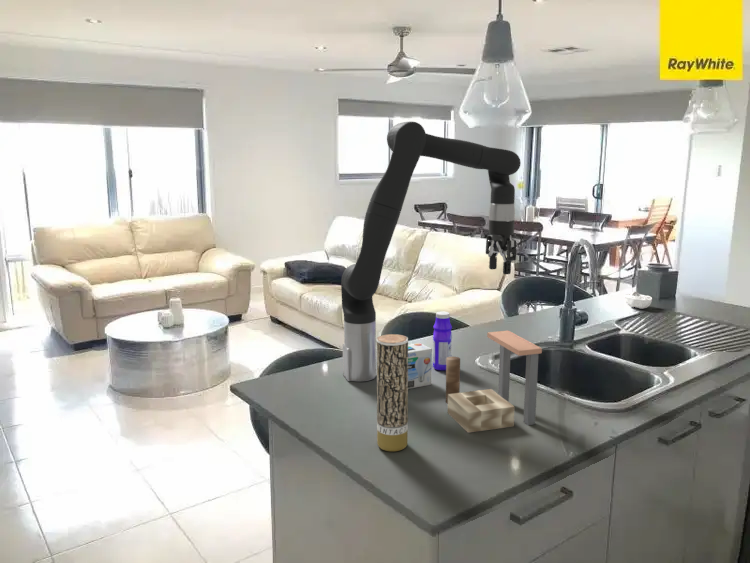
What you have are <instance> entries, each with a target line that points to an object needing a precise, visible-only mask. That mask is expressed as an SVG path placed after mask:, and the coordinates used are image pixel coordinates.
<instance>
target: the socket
mask: <svg viewBox="0 0 750 563" xmlns="http://www.w3.org/2000/svg"><path fill="white" fill-rule="evenodd" d="M447 415H449V416H450V417H451V418H452V419H453V420H454V421H455V422H456V423H457V424H459V426H460V427H461V428H463V430H465V431H466V432H467V433H475V432H482V431H489V430H496V429H497V430H498V429H504V428H511V427H514V426H515V406H514V405H513V404H512V403H511V402H508V401H506V400H505V399H504V398H502V397H501V396H500V395H498V393H497V392H496V391H495V390H493V388H490V389H489V388H488V389H479V390H472V391H471V390H470V391H464V392H460V393H454V394H448V404H447Z"/></svg>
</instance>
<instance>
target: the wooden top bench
mask: <svg viewBox="0 0 750 563" xmlns="http://www.w3.org/2000/svg"><path fill="white" fill-rule="evenodd" d="M486 337H487V338H488V339H490V340H492V341H493V342H495V343H496V344H498V345H499V368H498V393H497V394H498V395H500V396H501V397H502V398H504V399H505V400H506V401H508V402H509V401H510V382H511V381H510V378H511V376H510V375H511V353H513V354H515V355H517V356H518V357H520V356H525V357H526V358H525V359H526V360H525V376H524V377H525V379H524V401H523V420H522V421H523V423H524V424H525V425H527V426H531V425H535V424H536V413H537V409H536V408H537V394H538V391H537V390H538V374H539V373H538V372H539V371H538V370H539V354H542V352H543V349H542V347H541V346H538V345H536V344H534V343H533V342H530V341H529V340H527V339H525V338H524V337H521V336H519V335H517V334H516V333H514V332H512V331H510V330H501V331H490V332H489V331H488V332H487V336H486ZM509 403H510V402H509Z"/></svg>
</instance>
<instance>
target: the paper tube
mask: <svg viewBox="0 0 750 563" xmlns="http://www.w3.org/2000/svg"><path fill="white" fill-rule="evenodd" d="M408 345H409V337H408V336H406V335H403V334H397V333H393V334H392V333H391V334H383V335H379V336H376V430H377V432H376V433H377V434H376V436H377V437H376V438H377V441H376V444H377V446H378V448H379V449H381V450H383V451H386V452H391V453H392V452H399V451H402V450H404V449H405V448H406V447H407V446H408V437H409V436H408V430H409V429H408V428H409V426H408V424H409V423H408V422H409V420H408V419H409V416H408V415H409V414H408V413H409V412H408V410H409V407H408V406H409V389H408Z"/></svg>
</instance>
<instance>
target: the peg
mask: <svg viewBox="0 0 750 563" xmlns="http://www.w3.org/2000/svg"><path fill="white" fill-rule="evenodd" d="M460 386H461V358H460V357H458V356H451V357H447V358H446V370H445V404H447V405H448V394H454V393H461V392H460V391H461V390H460V388H461V387H460Z"/></svg>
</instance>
